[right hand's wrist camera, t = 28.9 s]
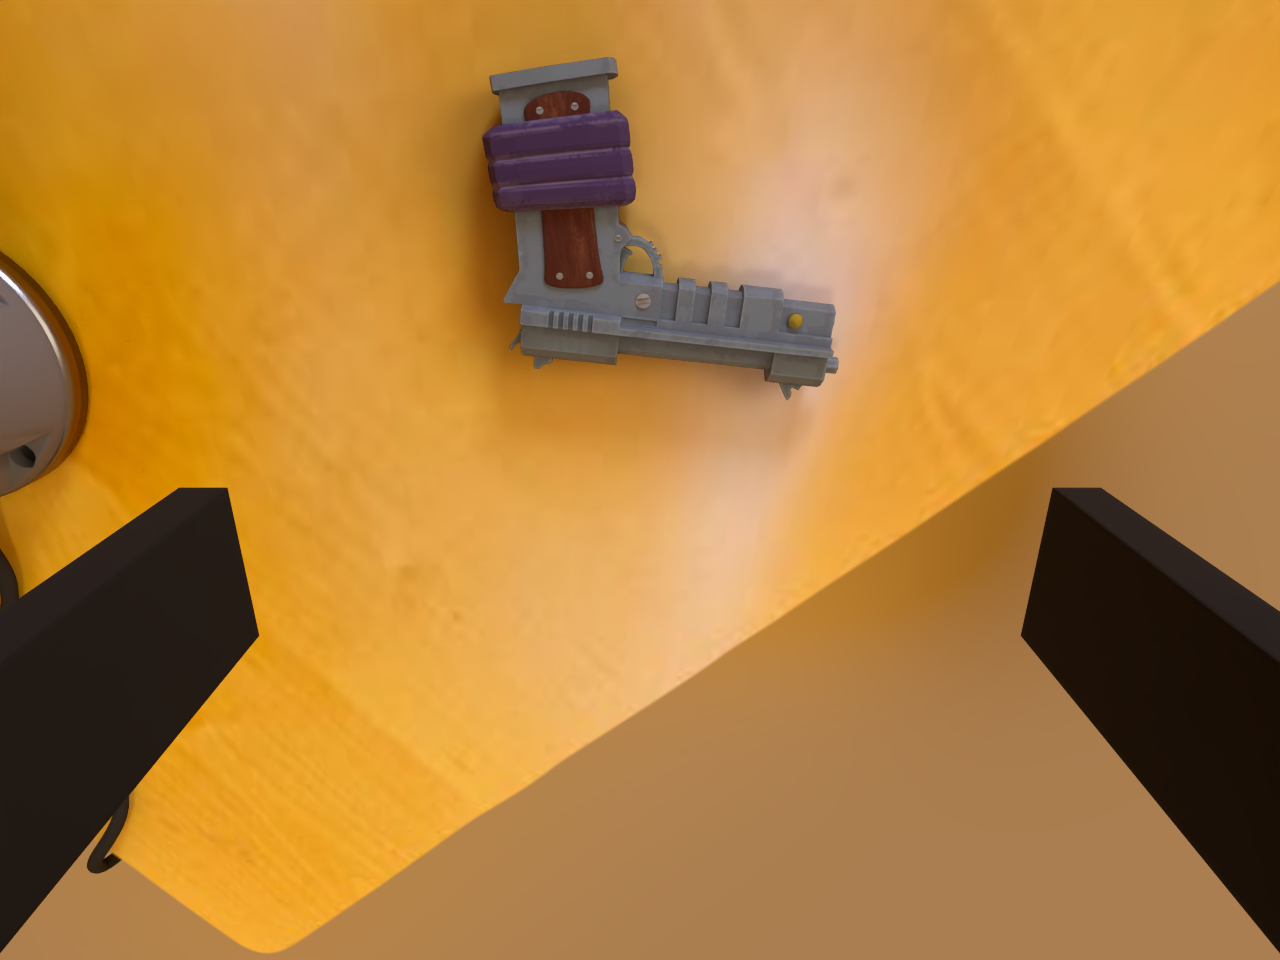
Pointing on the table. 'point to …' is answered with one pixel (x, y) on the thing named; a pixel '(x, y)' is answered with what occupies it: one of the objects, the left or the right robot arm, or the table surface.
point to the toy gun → (619, 246)
